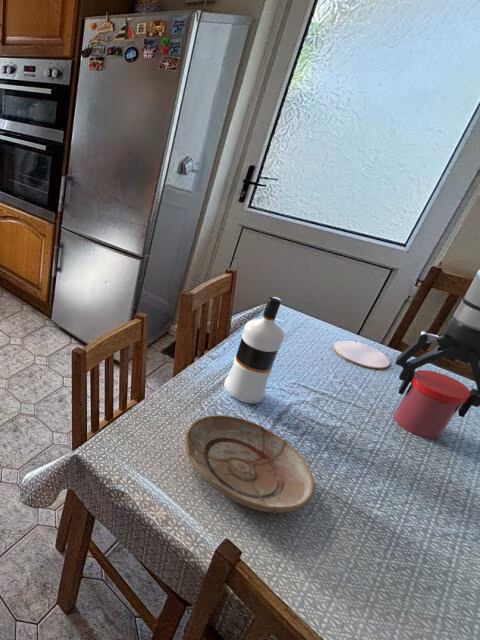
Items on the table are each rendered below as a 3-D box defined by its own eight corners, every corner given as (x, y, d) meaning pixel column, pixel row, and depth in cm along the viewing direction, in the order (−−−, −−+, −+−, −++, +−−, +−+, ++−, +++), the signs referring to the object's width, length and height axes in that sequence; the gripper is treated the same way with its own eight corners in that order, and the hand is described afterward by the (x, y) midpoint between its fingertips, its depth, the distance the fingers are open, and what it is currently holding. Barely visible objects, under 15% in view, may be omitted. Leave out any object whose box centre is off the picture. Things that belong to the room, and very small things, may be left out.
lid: (422, 371, 102) (425, 365, 101) (475, 396, 94) (479, 390, 94) (401, 382, 99) (404, 376, 98) (455, 409, 91) (459, 403, 90)
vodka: (215, 386, 115) (243, 293, 102) (239, 377, 118) (270, 286, 105) (246, 409, 107) (281, 312, 94) (271, 399, 110) (308, 304, 97)
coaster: (391, 354, 125) (392, 353, 125) (387, 375, 117) (388, 373, 117) (336, 336, 134) (337, 335, 134) (329, 354, 126) (330, 353, 126)
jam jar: (440, 424, 101) (466, 386, 96) (440, 444, 96) (466, 405, 91) (394, 406, 107) (415, 368, 102) (391, 424, 102) (413, 385, 96)
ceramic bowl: (183, 416, 105) (187, 401, 103) (296, 451, 95) (303, 436, 93) (179, 492, 87) (183, 476, 85) (317, 546, 77) (327, 530, 75)
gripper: (558, 338, 84) (499, 418, 93) (407, 299, 98) (370, 372, 108) (564, 355, 79) (502, 438, 89) (405, 311, 94) (367, 386, 103)
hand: (430, 401), depth 98 cm, fingers closed on lid, 9 cm apart
